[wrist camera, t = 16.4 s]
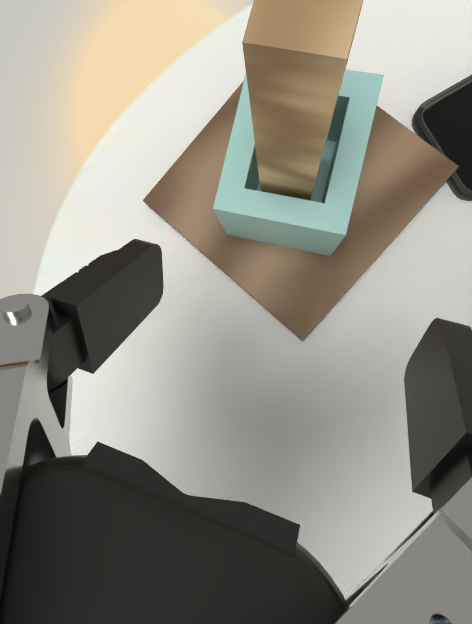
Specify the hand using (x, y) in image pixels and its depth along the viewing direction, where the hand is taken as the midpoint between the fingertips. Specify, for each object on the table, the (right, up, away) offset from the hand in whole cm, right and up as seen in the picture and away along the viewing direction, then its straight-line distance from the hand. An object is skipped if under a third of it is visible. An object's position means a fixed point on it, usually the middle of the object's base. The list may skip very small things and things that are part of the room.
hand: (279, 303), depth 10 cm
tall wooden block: (+3, +9, +13) cm, 16 cm away
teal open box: (+3, +9, +15) cm, 18 cm away
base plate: (+3, +9, +15) cm, 18 cm away
